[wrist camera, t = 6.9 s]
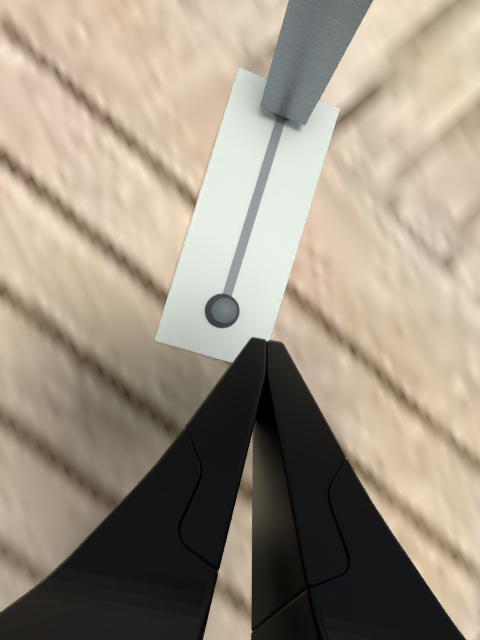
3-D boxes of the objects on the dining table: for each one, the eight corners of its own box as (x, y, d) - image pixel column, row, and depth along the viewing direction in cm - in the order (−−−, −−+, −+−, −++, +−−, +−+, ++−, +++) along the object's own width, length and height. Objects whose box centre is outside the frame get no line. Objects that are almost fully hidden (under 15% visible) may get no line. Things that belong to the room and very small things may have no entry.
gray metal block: (302, 131, 20) (418, -83, 9) (257, 113, 19) (324, -131, 9) (315, 87, 20) (446, -177, 9) (271, 68, 19) (354, -229, 9)
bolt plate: (257, 367, 21) (267, 378, 18) (157, 338, 20) (147, 344, 17) (332, 119, 21) (357, 80, 18) (237, 80, 20) (243, 32, 17)
